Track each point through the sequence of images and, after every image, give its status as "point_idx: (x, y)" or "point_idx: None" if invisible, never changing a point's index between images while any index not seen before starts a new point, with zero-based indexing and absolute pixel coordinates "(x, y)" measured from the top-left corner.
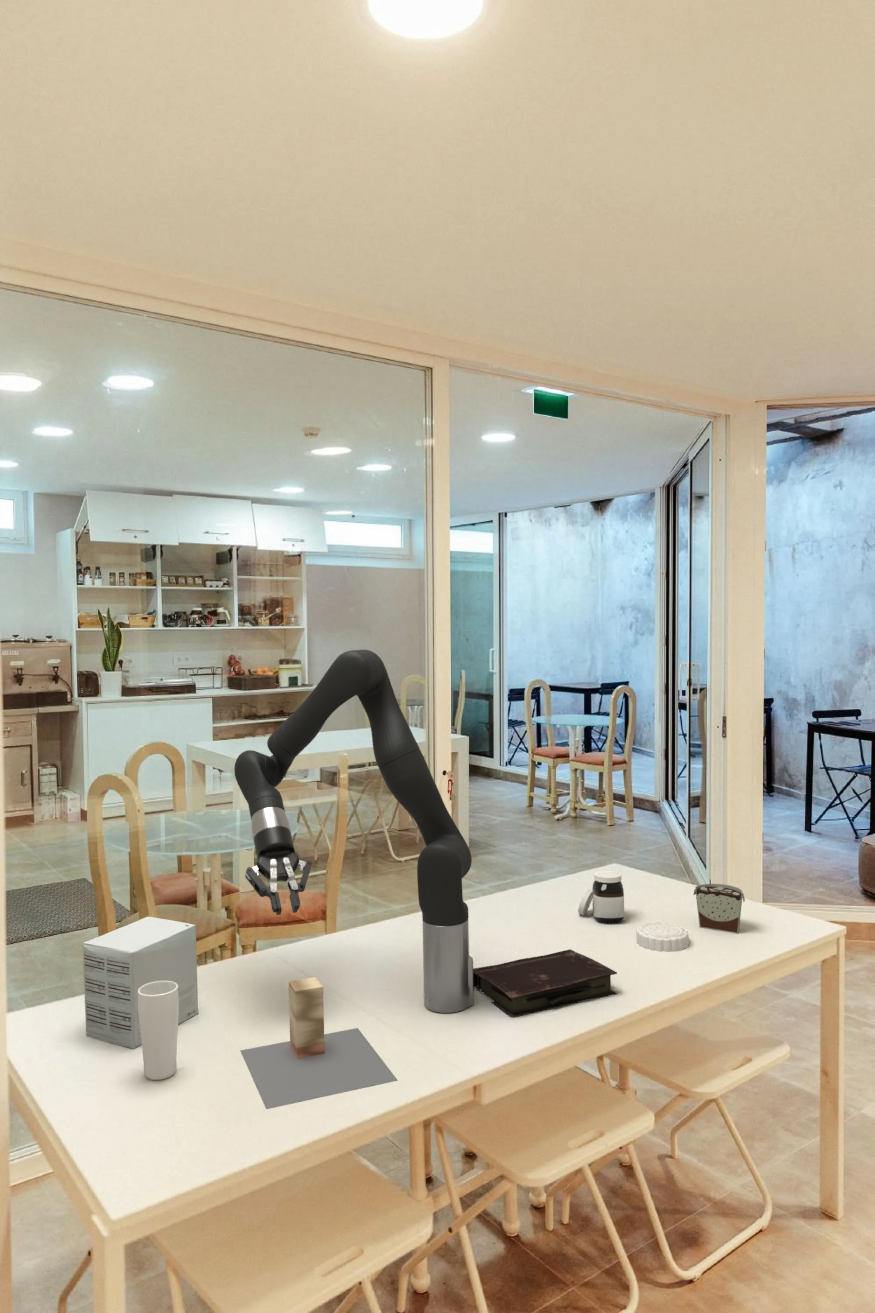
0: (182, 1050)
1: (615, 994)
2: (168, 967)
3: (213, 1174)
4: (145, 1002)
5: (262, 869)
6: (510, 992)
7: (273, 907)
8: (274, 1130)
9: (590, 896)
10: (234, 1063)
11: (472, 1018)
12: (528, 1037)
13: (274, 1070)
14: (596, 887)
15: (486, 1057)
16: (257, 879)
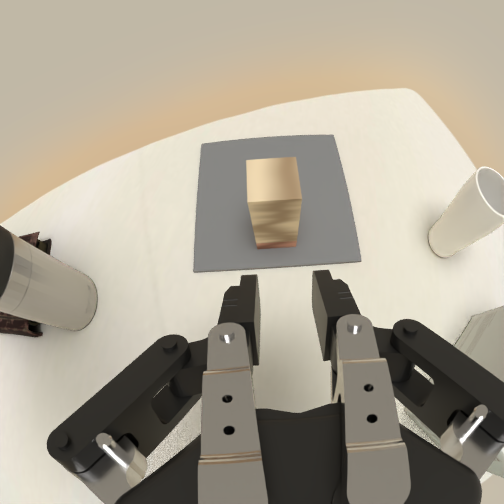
0: (426, 296)
1: None
2: (495, 358)
3: (366, 92)
4: (495, 179)
5: (441, 451)
6: (32, 240)
7: (345, 285)
8: (326, 115)
9: None
10: (367, 238)
11: (74, 253)
12: (65, 198)
13: (322, 195)
14: None
15: (111, 171)
16: (458, 364)
